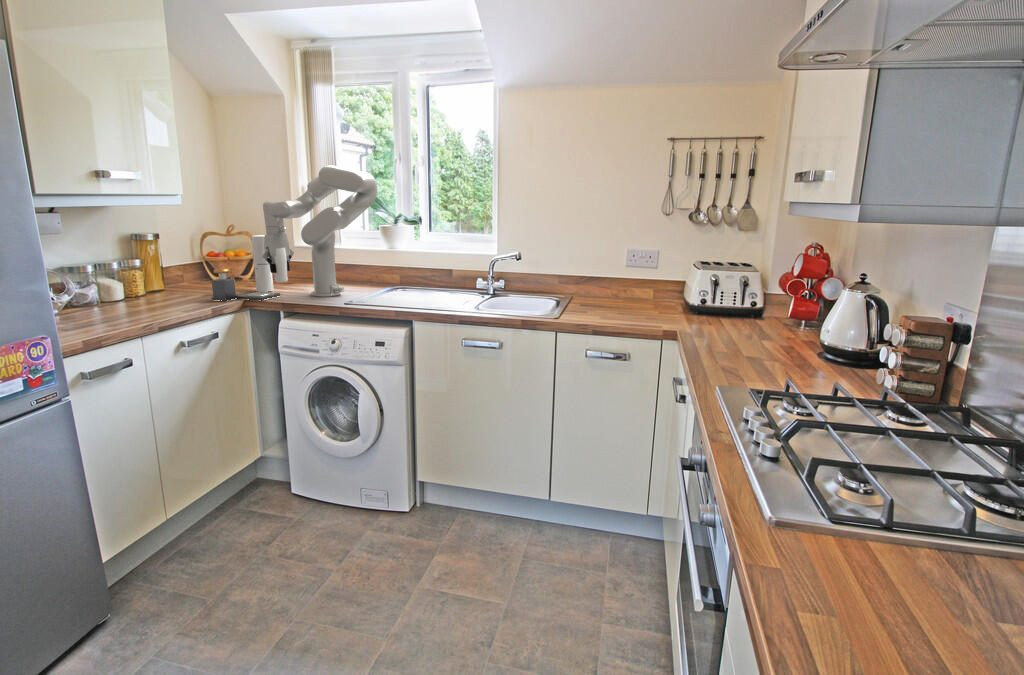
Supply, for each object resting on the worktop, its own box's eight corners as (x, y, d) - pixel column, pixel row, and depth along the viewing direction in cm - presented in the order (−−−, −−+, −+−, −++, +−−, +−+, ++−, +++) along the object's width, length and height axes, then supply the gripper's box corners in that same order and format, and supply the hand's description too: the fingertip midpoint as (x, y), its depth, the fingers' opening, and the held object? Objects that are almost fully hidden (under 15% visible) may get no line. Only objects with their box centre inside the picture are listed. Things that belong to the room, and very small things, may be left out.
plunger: (235, 288, 240) (233, 269, 238) (224, 290, 235) (222, 270, 233) (223, 287, 242) (220, 268, 240) (212, 290, 236) (210, 270, 234)
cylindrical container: (269, 292, 258) (264, 236, 252) (253, 292, 258) (248, 236, 252) (276, 290, 265) (271, 235, 259) (260, 289, 265) (255, 235, 259)
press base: (280, 296, 249) (278, 277, 247) (253, 303, 232) (251, 282, 230) (241, 294, 253) (239, 275, 251) (211, 300, 237) (209, 280, 235)
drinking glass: (292, 280, 258) (288, 246, 254) (285, 282, 251) (280, 248, 248) (278, 280, 259) (273, 247, 255) (270, 283, 252) (265, 248, 248)
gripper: (286, 229, 259) (291, 269, 263) (252, 231, 244) (257, 273, 249) (297, 229, 255) (302, 269, 259) (263, 231, 241) (268, 274, 245)
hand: (280, 271), depth 254 cm, fingers closed on drinking glass, 6 cm apart
